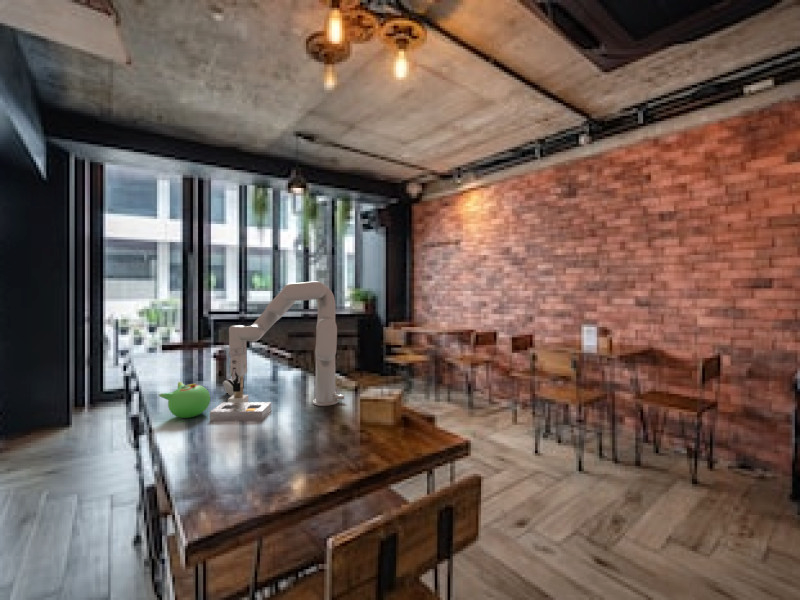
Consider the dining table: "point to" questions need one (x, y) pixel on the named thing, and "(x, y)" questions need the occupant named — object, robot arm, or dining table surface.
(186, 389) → the toy bird
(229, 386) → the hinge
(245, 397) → the beige square block
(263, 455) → the dining table surface
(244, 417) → the plate
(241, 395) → the peg
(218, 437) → the dining table surface
